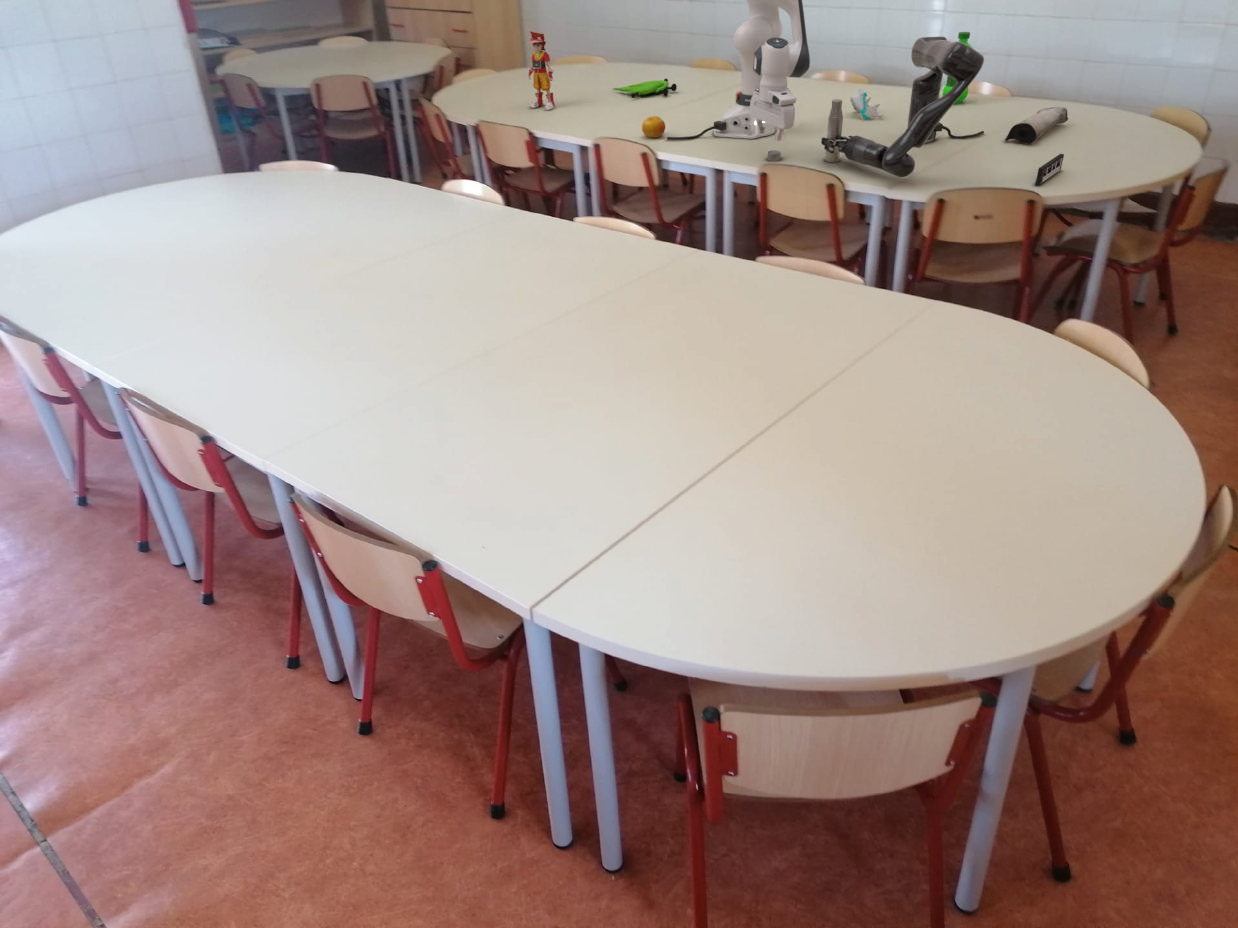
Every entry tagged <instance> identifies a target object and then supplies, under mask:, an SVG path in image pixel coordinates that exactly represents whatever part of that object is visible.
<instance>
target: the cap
mask: <svg viewBox="0 0 1238 928" xmlns="http://www.w3.org/2000/svg"><path fill="white" fill-rule="evenodd" d="M781 152H782V151H780V150H773V149H772V150H769V151H767V154H766V155H767V157H766V159H767V161H770V162H779V161H780V160H781Z"/></svg>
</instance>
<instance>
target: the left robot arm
mask: <svg viewBox="0 0 1238 928" xmlns="http://www.w3.org/2000/svg"><path fill="white" fill-rule="evenodd" d="M746 2H747V5H748V13H749V19H748V20H746V21H744V22H743V23H741V24H740V25H739V27H738V28H737V29H736V30H735V33H734V35H733V43H734V46H735V49H736V50H737V52H738V55H739V61H740V67H741V90H737V91H736V92H735V103H734V104H733V105H732V106H730V107H729V108H727V110H726V111H724V113H722V114H721V117H720V120H716V121H713V126H710V127H708V128H706V129H704V130H703V131H701V132H700V133H698V134H695V135H691V136H667V137H666V140H667V141H685V140H694V139H697V138H700V137H702V136H703V135H704V134H706V133H707V132H709V131H712V130H713V135H714V136H715V137H721V138H722V137H723V138H736V139H737V138H738V139H750V140H753V139H754V140H755V139H758V138H761V137H766V136H770V135H773V134H774V133H775V132H776V131H777V133H776V134H774V140H775V141H777V142H779V141H781V140H782V136H783V134H784V132H785V130H790V129H791V130H792V128H793V126H794V125H795V117H796V107H795V104H796V103H797V96H796V95H795V94H794V93H793V92H792V91H791V90H790V89H789V88H788V78H801V77H803V76H804V75H805V74H806V73H807V72H808V71H809V69H810V65H811V55H810V49H809V45H808V38H807V37H808V36H807V29H806V20H805V11H804V5H803V4H804V3H803V0H746ZM779 9H781V10H783V11H784V12H786V13H787V14H788V16H789V19H790V24H791V25H790V26H791V34H792V43H791V44H790V42H789V41H788V40H787V39H785V38H782V34H783V23H782V20H781V19H780V11H779ZM775 127H776V131H775Z"/></svg>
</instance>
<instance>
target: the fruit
mask: <svg viewBox="0 0 1238 928" xmlns="http://www.w3.org/2000/svg"><path fill="white" fill-rule="evenodd" d="M641 130H642V133H643V135H644V136H645V137H648V138H658V137H661V136H663V134H664V133H665V130H666V123H665V121H664V120H663V119H662V118H661V117H660V116H655V115H653V116H649V117H647V118H645V119H644V120H643V122H642V124H641Z"/></svg>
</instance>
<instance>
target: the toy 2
mask: <svg viewBox="0 0 1238 928" xmlns="http://www.w3.org/2000/svg"><path fill="white" fill-rule="evenodd" d="M669 85H670V83H669V79H668V78H664V79H663V80H649V81H644V82H640V83H634V84H629V85H627V86H621V87H613V88H612V89H613V90H616V91H619V92H623V93H627V94H628V93H629V94H631V95H630V96H631V98H632V99H634V98H636V96H637V95H650V94H652V93H654V94H658V93H662V95H663V96H665V97H667V96H668V95H669V90H671V91H672V92H676V91H677V84H676V83H672V84H671V86H669Z"/></svg>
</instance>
